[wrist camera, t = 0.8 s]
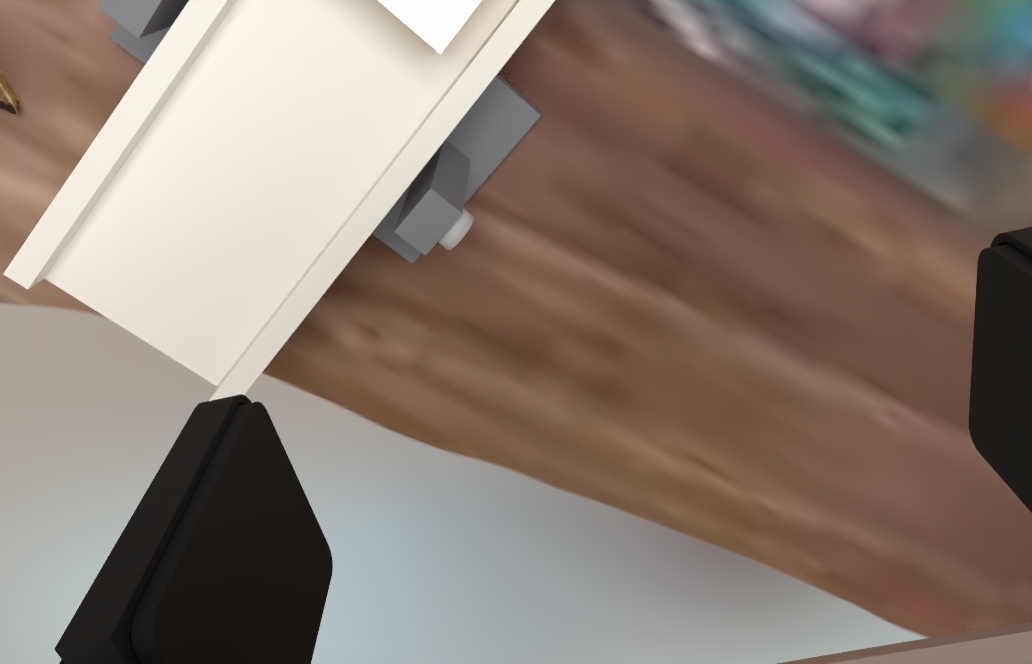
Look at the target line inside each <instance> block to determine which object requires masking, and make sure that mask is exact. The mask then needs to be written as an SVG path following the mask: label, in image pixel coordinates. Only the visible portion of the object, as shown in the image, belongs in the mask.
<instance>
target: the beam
mask: <svg viewBox="0 0 1032 664" xmlns="http://www.w3.org/2000/svg"><path fill="white" fill-rule="evenodd" d="M554 1H555V0H481V2H480V3H479V4H478V6H477V7H476V8H475V9H474V11H473V12H472V13H471V15H470V16H469V17H468V19H467V20H466V21H465V23H464V24H463V25H462V26H461V28H460V29H459V30H458V32H457V33H456V34H455V36H454V37H453V38H452V39H451V41H450V42H449V43H448V45H447V46H446V47H445V49H444V50H443V51H442V53H441V54H440V53H439V52H437V51H436V50H435V49H434V48H433V47H431V46H430V45H429V44H428V43H427V42H426V41H424V40H423V39H422V38H421V37H420V36H419V35H418V34H416V33H415V32H414V31H413V30H412V29H411V28H409V27H408V26H407V25H406V24H405V23H404V22H402V21H401V20H400V19H399V18H398V17H397V16H395V15H394V14H393V13H392V12H391V11H390V10H389V9H387V8H386V7H385V6H384V5H383V4H382V3H380V2H379V1H378V0H189V1H188V3H187V4H186V6H185V7H184V9H183V10H182V12H181V13H180V15H179V16H178V18H177V19H176V20H175V22H174V23H173V25H172V26H171V28H170V29H169V31H168V32H167V34H166V35H165V37H164V38H163V40H162V41H161V43H160V44H159V45H158V47H157V48H156V50H155V51H154V53H153V54H152V56H151V57H150V59H149V60H148V62H147V63H146V65H145V66H144V68H143V69H142V71H141V72H140V73H139V75H138V76H137V78H136V79H135V81H134V82H133V84H132V85H131V87H130V88H129V90H128V91H127V93H126V94H125V96H124V97H123V98H122V100H121V101H120V103H119V104H118V106H117V107H116V109H115V110H114V112H113V113H112V115H111V116H110V118H109V119H108V121H107V122H106V124H105V125H104V126H103V128H102V129H101V131H100V132H99V134H98V135H97V137H96V138H95V140H94V141H93V143H92V144H91V146H90V147H89V149H88V150H87V151H86V153H85V154H84V156H83V157H82V159H81V160H80V162H79V163H78V165H77V166H76V168H75V169H74V171H73V172H72V174H71V175H70V176H69V178H68V179H67V181H66V182H65V184H64V185H63V187H62V188H61V190H60V191H59V193H58V194H57V196H56V197H55V199H54V200H53V202H52V203H51V204H50V206H49V207H48V209H47V210H46V212H45V213H44V215H43V216H42V218H41V219H40V221H39V222H38V224H37V225H36V227H35V228H34V229H33V231H32V232H31V234H30V235H29V237H28V238H27V240H26V241H25V243H24V244H23V246H22V247H21V249H20V250H19V252H18V253H17V255H16V256H15V257H14V259H13V260H12V262H11V263H10V265H9V266H8V268H7V269H6V271H5V272H4V275H5V276H7V277H9V278H10V279H12V280H13V281H15V282H17V283H18V284H20V285H22V286H23V287H25V288H26V289H29V288H31V287H32V286H34V285H35V284H37V283H38V282H40V281H41V280H42V279H44V278H45V279H46V280H48V281H49V282H51V283H53V284H54V285H56V286H57V287H59V288H61V289H62V290H64V291H65V292H67V293H69V294H70V295H72V296H73V297H75V298H77V299H78V300H80V301H81V302H83V303H84V304H86V305H88V306H89V307H91V308H92V309H94V310H96V311H97V312H99V313H100V314H102V315H104V316H105V317H107V318H108V319H110V320H112V321H113V322H115V323H116V324H118V325H120V326H121V327H123V328H125V329H126V330H128V331H129V332H131V333H133V334H134V335H136V336H137V337H139V338H140V339H142V340H144V341H145V342H147V343H148V344H150V345H152V346H153V347H155V348H157V349H158V350H160V351H161V352H163V353H165V354H166V355H168V356H169V357H171V358H172V359H174V360H176V361H177V362H179V363H180V364H182V365H184V366H185V367H187V368H188V369H190V370H192V371H193V372H195V373H196V374H198V375H200V376H201V377H203V378H204V379H206V380H207V381H209V382H211V383H213V384H214V385H215V386H216V388H215V390H214V392H213V394H212V396H211V397H210V399H209V401H212V400H217V399H221V398H226V397H231V396H235V395H240V394H242V395H244V394H245V393H246V392H247V391H248V389H249V388H250V387H251V386H252V384H253V383H254V382H255V380H256V379H257V378H258V377H259V375H260V374H261V373H262V372H263V370H264V369H265V368H266V367H267V365H268V364H269V363H270V361H271V360H272V359H273V358H274V356H275V355H276V354H277V353H278V351H279V350H280V349H281V348H282V346H283V345H284V344H285V342H286V341H287V340H288V339H289V337H290V336H291V335H292V334H293V332H294V331H295V330H296V328H297V327H298V326H299V325H300V323H301V322H302V321H303V320H304V318H305V317H306V316H307V315H308V313H309V312H310V311H311V309H312V308H313V307H314V306H315V304H316V303H317V302H318V301H319V299H320V298H321V297H322V295H323V294H324V293H325V292H326V290H327V289H328V288H329V287H330V285H331V284H332V283H333V282H334V280H335V279H336V278H337V276H338V275H339V274H340V273H341V271H342V270H343V269H344V268H345V266H346V265H347V264H348V262H349V261H350V260H351V259H352V257H353V256H354V255H355V254H356V252H357V251H358V250H359V249H360V247H361V246H362V245H363V243H364V242H365V241H366V240H367V238H368V237H369V236H370V235H371V233H372V232H373V231H374V229H375V228H376V227H377V226H378V224H379V223H380V222H381V221H382V219H383V218H384V217H385V216H386V214H387V213H388V212H389V210H390V209H391V208H392V207H393V205H394V204H395V203H396V202H397V200H398V199H399V198H400V196H401V195H402V194H403V193H404V191H405V190H406V189H407V188H408V186H409V185H410V184H411V183H412V181H413V180H414V179H415V177H416V176H417V175H418V174H419V172H420V171H421V170H422V169H423V167H424V166H425V165H426V164H427V162H428V161H429V160H430V158H431V157H432V156H433V155H434V153H435V152H436V151H437V150H438V148H439V147H440V146H441V144H442V143H443V142H444V141H445V139H446V138H447V137H448V136H449V134H450V133H451V132H452V131H453V129H454V128H455V127H456V125H457V124H458V123H459V122H460V120H461V119H462V118H463V117H464V115H465V114H466V113H467V111H468V110H469V109H470V108H471V106H472V105H473V104H474V103H475V101H476V100H477V99H478V98H479V96H480V95H481V94H482V92H483V91H484V90H485V89H486V87H487V86H488V85H489V84H490V82H491V81H492V80H493V78H494V77H495V76H496V75H497V73H498V72H499V71H500V70H501V68H502V67H503V66H504V65H505V63H506V62H507V61H508V59H509V58H510V57H511V56H512V54H513V53H514V52H515V51H516V49H517V48H518V47H519V45H520V44H521V43H522V42H523V40H524V39H525V38H526V37H527V35H528V34H529V33H530V32H531V30H532V29H533V28H534V26H535V25H536V24H537V23H538V21H539V20H540V19H541V18H542V16H543V15H544V14H545V12H546V11H547V10H548V9H549V7H550V6H551V5H552V4H553V2H554Z"/></svg>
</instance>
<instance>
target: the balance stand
mask: <svg viewBox="0 0 1032 664" xmlns="http://www.w3.org/2000/svg"><path fill="white" fill-rule="evenodd" d="M188 1H189V0H101V2H100V4H99V6H98V7H97V8H99V9H100V10H101V11H103V12H104V13H105V14H107V15H108V16H109V17H111V18H112V19H113V20H115V21H116V22H117V23H118V24H117V26H116V27H115V29H114V31H113V32H112V34H111V36H110V39H111V40H113V41H114V42H115V43H117V44H118V45H119V46H121V47H122V48H123V49H125V50H126V51H127V52H129V53H130V54H131V55H133V56H134V57H135V58H137V59H138V60H140V61H141V62H142V63H144V64H145V65H146V63H147V62H148V60H149V59H150V57H151V56H152V54H153V53H154V51H155V50H156V48H157V47H158V45H159V44H160V43H161V41H162V40H163V38H164V37H165V35H166V34H167V32H168V31H169V29H170V28H171V26H172V25H173V23H174V22H175V20H176V19H177V18H178V16H179V15H180V13H181V12H182V10H183V9H184V7H185V6H186V4H187V3H188ZM540 116H541V112H540V110H539V109H538V108H537V107H535V106H534V105H533V104H532V103H531V102H530V101H529V100H528V99H526V98H525V97H524V96H523V95H522V94H521V93H520V92H518V91H517V90H516V89H515V88H514V87H513V86H512V85H510V84H509V83H508V82H507V81H506V80H505V79H504V78H502V77H501V76H500V75H499V74H498V73H497V75H496V76H495V77H494V78H493V80H492V81H491V82H490V84H489V85H488V86H487V87H486V89H485V90H484V91H483V92H482V94H481V95H480V96H479V98H478V99H477V100H476V101H475V103H474V104H473V105H472V106H471V108H470V109H469V110H468V111H467V113H466V114H465V115H464V117H463V118H462V119H461V120H460V122H459V123H458V124H457V125H456V127H455V128H454V129H453V131H452V132H451V133H450V134H449V136H448V137H447V138H446V139H445V141H444V142H443V143H442V144H441V146H440V147H439V148H438V150H437V151H436V152H435V153H434V155H433V156H432V157H431V158H430V160H429V161H428V162H427V164H426V165H425V166H424V167H423V169H422V170H421V171H420V172H419V174H418V175H417V176H416V177H415V179H414V180H413V181H412V183H411V184H410V185H409V186H408V188H407V189H406V190H405V191H404V193H403V194H402V195H401V196H400V198H399V199H398V200H397V202H396V203H395V204H394V205H393V207H392V208H391V209H390V210H389V212H388V213H387V214H386V216H385V217H384V218H383V219H382V221H381V222H380V223H379V224H378V226H377V227H376V228H375V229H374V231H373V232H372V233H371V234H372V235H374V236H375V237H376V238H378V239H379V240H381V241H382V242H383V243H385V244H386V245H387V246H389V247H390V248H391V249H393V250H394V251H395V252H397V253H398V254H399V255H401V256H402V257H403V258H405V259H406V260H407V261H409V262H410V263H411V264H413V263H414V262H415V261H416V260H417V259H418V257H419V256H420V255H421V254H422V253H423V254H424V255H425V256H426V255H427V253H428V252H429V251H430V250H431V249H432V248H433V247H434V245H435V244H436V243H437V242H438V243H440V244H441V245H442V246H444V247H445V248H446V249H447V250H451V249H452V248H454V247H455V246H456V245H457V244H458V243H459V242H460V241H461V239H462V238H463V237H464V236H465V234H466V233H467V231H468V230H469V228H470V227H471V225H472V223H473V221H474V216H473V215H472V214H470V213H469V212H468V211H467V210H465V209H464V208H463V205H464V204H465V203H466V202H467V201H468V200H469V199H470V197H471V196H472V195H473V194H474V193H475V192H476V190H477V189H478V188H479V187H480V186H481V185H482V183H483V182H484V181H485V180H486V179H487V178H488V177H489V175H490V174H491V173H492V172H493V171H494V170H495V168H496V167H497V166H498V165H499V164H500V163H501V162H502V160H503V159H504V158H505V157H506V156H507V155H508V153H509V152H510V151H511V150H512V149H513V148H514V147H515V145H516V144H517V143H518V142H519V141H520V140H521V138H522V137H523V136H524V135H525V134H526V133H527V131H528V130H529V129H530V128H531V127H532V126H533V125H534V123H535V122H536V121H537V120H538V119H539V118H540Z"/></svg>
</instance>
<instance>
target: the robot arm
mask: <svg viewBox="0 0 1032 664" xmlns="http://www.w3.org/2000/svg"><path fill="white" fill-rule="evenodd" d="M969 430H970V435H971V438H972V441H973V443H974V445H975V447H976V449H977V450H978V451H979V453H980V454H981V455H982V456H983V457H984V459H985V460H986V461H987V462H988V463H989V464H990V465H991V467H992V468H993V469H994V470H995V471H996V472H997V473H998V475H999V476H1000V477H1001V478H1002V479H1003V480H1004V481H1005V483H1006V484H1007V485H1008V486H1009V487H1010V488H1011V489H1012V491H1013V492H1014V493H1015V494H1016V495H1017V496H1018V497H1019V499H1020V500H1021V501H1022V502H1023V503H1024V504H1025V505H1026V507H1027V508H1028V509H1029V510H1030V511H1031V512H1032V227H1029V228H1024V229H1020V230H1015V231H1010V232H1005V233H1001V234H998V235H997V236H996V237H995V238H994V239H993V241H992V243H991V247H990V248H985V249H984V250H982V251H981V253H980V255H979V259H978V268H977V285H976V303H975V321H974V338H973V356H972V374H971V391H970V409H969ZM331 576H332V556H331V551H330V548H329V545H328V543H327V541H326V539H325V537H324V535H323V532H322V530H321V528H320V526H319V524H318V521H317V519H316V517H315V515H314V513H313V510H312V508H311V506H310V504H309V502H308V499H307V497H306V495H305V493H304V491H303V489H302V486H301V484H300V482H299V480H298V478H297V476H296V473H295V471H294V469H293V467H292V465H291V462H290V460H289V458H288V456H287V454H286V451H285V449H284V447H283V445H282V443H281V441H280V438H279V436H278V434H277V432H276V430H275V427H274V425H273V423H272V421H271V419H270V416H269V414H268V412H267V410H266V409H265V407H264V406H263V405H262V403H260V402H254V403H251V401H250V400H249V399H248V398H247V397H246V396H244V395H242V394H240V395H235V396H231V397H226V398H221V399H217V400H212V401H207V402H203V403H199V404H198V405H197V407H196V408H195V409H194V411H193V412H192V414H191V416H190V418H189V419H188V421H187V423H186V424H185V426H184V428H183V430H182V431H181V433H180V435H179V436H178V438H177V440H176V442H175V443H174V445H173V447H172V449H171V450H170V452H169V454H168V455H167V457H166V459H165V461H164V462H163V464H162V466H161V467H160V469H159V471H158V473H157V474H156V476H155V478H154V479H153V481H152V483H151V485H150V486H149V488H148V490H147V491H146V493H145V495H144V496H143V498H142V500H141V502H140V503H139V505H138V507H137V509H136V510H135V512H134V514H133V515H132V517H131V519H130V521H129V522H128V524H127V526H126V527H125V529H124V531H123V532H122V534H121V536H120V538H119V539H118V541H117V543H116V544H115V546H114V548H113V550H112V551H111V553H110V555H109V556H108V558H107V560H106V562H105V563H104V565H103V567H102V569H101V570H100V572H99V574H98V575H97V577H96V579H95V581H94V582H93V584H92V586H91V587H90V589H89V591H88V593H87V594H86V596H85V598H84V599H83V601H82V603H81V605H80V606H79V608H78V610H77V611H76V613H75V615H74V617H73V618H72V620H71V622H70V623H69V625H68V627H67V629H66V630H65V632H64V634H63V635H62V637H61V639H60V641H59V642H58V644H57V646H56V647H55V651H56V652H57V653H58V655H59V656H60V657H61V659H62V660H61V662H60V664H311V660H312V656H313V652H314V648H315V643H316V639H317V635H318V631H319V627H320V622H321V618H322V614H323V610H324V606H325V602H326V597H327V593H328V589H329V585H330V581H331ZM778 664H1032V621H1030V622H1024V623H1017V624H1011V625H1005V626H999V627H993V628H987V629H981V630H975V631H969V632H963V633H957V634H951V635H945V636H939V637H933V638H927V639H921V640H915V641H909V642H903V643H897V644H891V645H884V646H878V647H872V648H866V649H861V650H855V651H849V652H843V653H837V654H831V655H825V656H819V657H813V658H808V659H802V660H796V661H790V662H785V663H778Z"/></svg>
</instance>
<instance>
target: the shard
mask: <svg viewBox="0 0 1032 664" xmlns="http://www.w3.org/2000/svg"><path fill="white" fill-rule="evenodd" d="M20 100H21V99H20V98H19V96H18V94H17V93H16V92H15V91H14V89H13V88H12V86H11V85H10V83H9V81H8V80H7V79H6V77H5V76H4V74H3V72H2V71H1V69H0V109H3V110H6V111H8V112H11V113H13V114H18V111H17V103H16V102H17V101H20Z"/></svg>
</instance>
